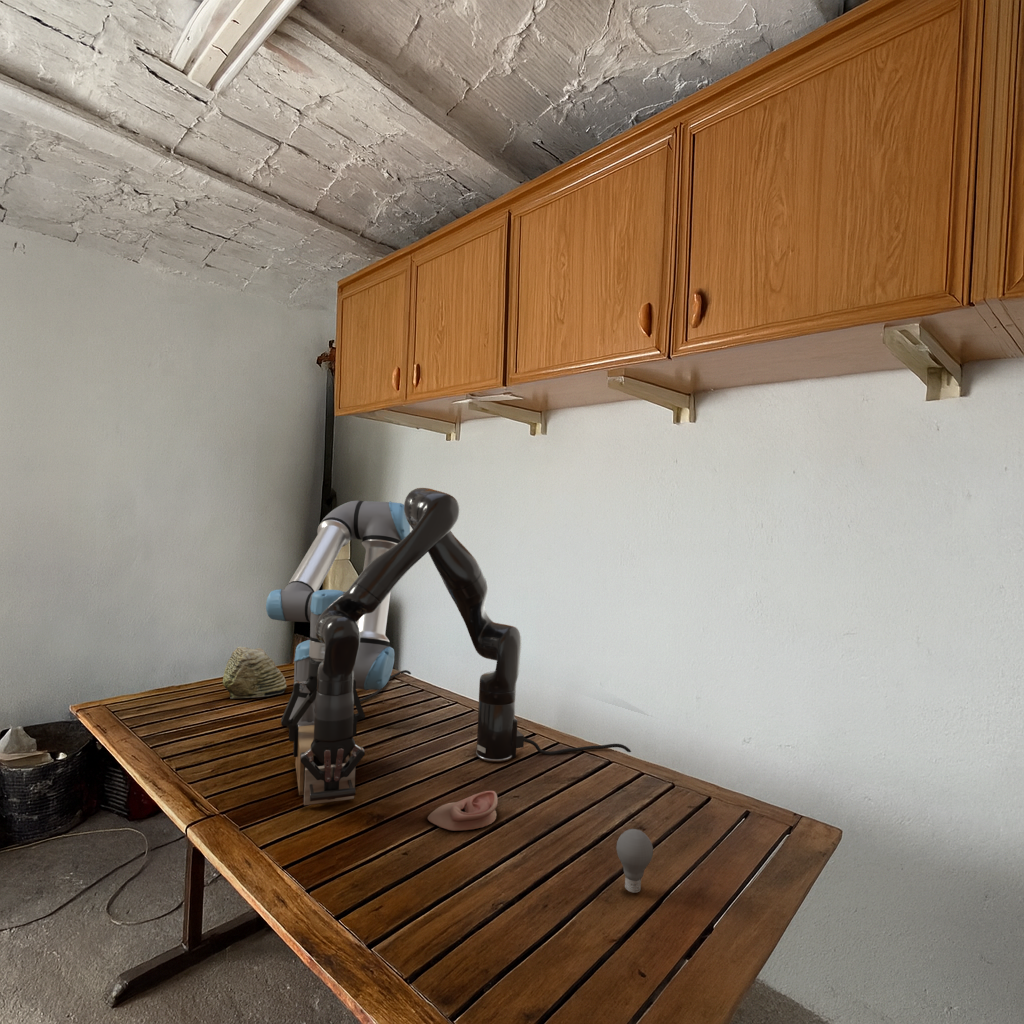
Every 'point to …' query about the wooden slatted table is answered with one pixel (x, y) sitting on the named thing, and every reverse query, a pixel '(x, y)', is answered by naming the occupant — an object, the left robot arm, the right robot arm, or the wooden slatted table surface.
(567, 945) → the wooden slatted table surface
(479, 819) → the anatomical model
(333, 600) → the left robot arm
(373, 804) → the wooden slatted table surface
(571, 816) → the wooden slatted table surface
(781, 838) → the wooden slatted table surface
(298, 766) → the cabinet
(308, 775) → the drawer
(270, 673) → the fossil
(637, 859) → the light bulb
